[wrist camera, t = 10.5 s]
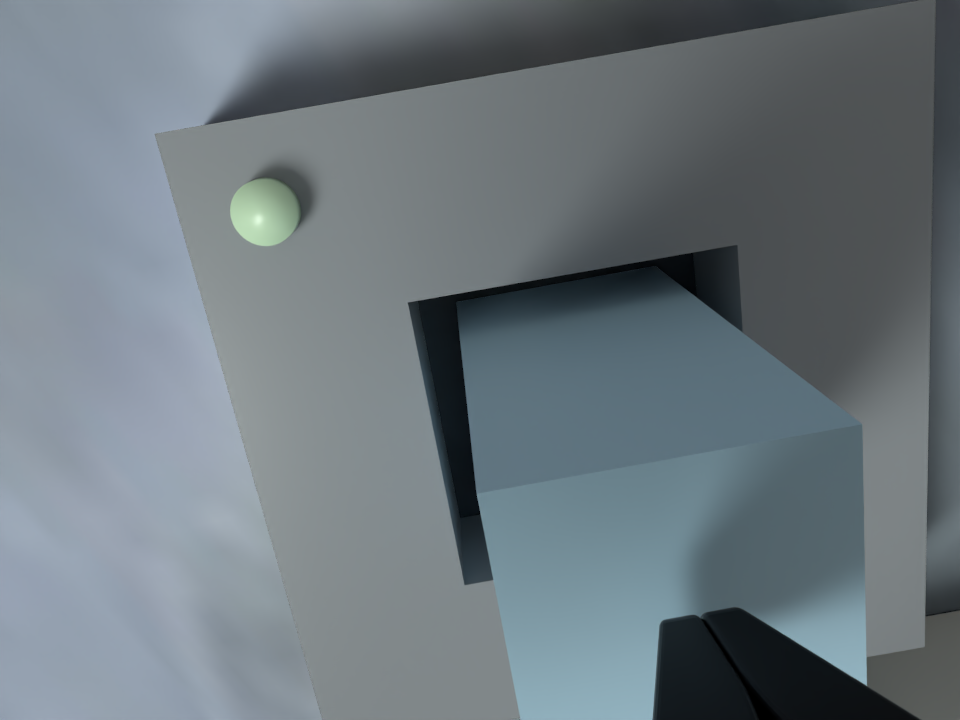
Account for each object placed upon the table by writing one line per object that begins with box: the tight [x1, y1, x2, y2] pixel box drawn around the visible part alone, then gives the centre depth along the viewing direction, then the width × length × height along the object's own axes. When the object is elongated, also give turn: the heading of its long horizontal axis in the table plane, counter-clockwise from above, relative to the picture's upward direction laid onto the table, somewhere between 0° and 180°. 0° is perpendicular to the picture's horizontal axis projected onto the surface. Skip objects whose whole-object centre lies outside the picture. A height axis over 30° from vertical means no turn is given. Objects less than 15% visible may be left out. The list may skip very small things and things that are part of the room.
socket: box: [155, 0, 936, 720], centre depth 15 cm, size 12×12×3 cm
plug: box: [456, 266, 867, 720], centre depth 13 cm, size 4×4×8 cm
